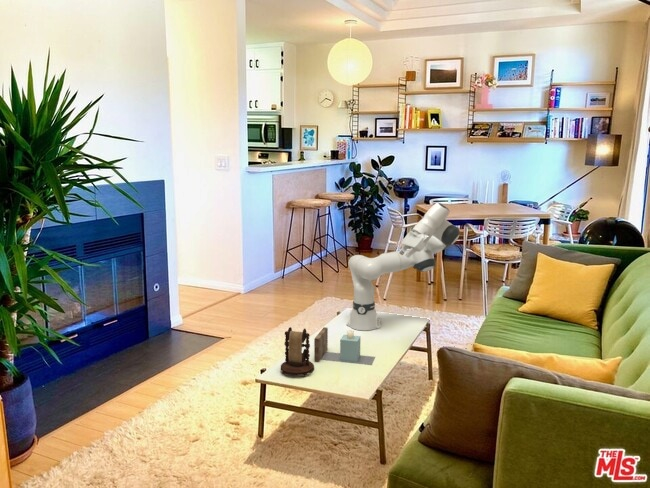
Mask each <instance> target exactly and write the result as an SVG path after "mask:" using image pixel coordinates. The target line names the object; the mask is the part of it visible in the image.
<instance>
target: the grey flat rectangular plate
mask: <svg viewBox="0 0 650 488" xmlns="http://www.w3.org/2000/svg"><path fill="white" fill-rule="evenodd" d="M375 360H376V356H372V355H371V356H369V355H362V354H360V358H359V360H358V362H350V361H340V352H332V351H326V353H325V354H324V355H323V357H322V358H321V360H320V361H326V362H327V361H328V362H329V361H330V362H337V363H338V362H340V363H346V364H347V363H348V364H356V365H357V364H359V365H365V366H366V365H367V366H373V363H374V361H375Z"/></svg>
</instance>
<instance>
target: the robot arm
mask: <svg viewBox="0 0 650 488" xmlns="http://www.w3.org/2000/svg"><path fill="white" fill-rule="evenodd" d="M449 214H450V209H449V208H448V207H446V205H444V204H442V203H441V202H436V203H434V204H433V205H432V206H431V207H430V208H429V209H427V212H425V214H424V215H423V216H422V217H421V219H419V221H418V222H417V223H416V224H415V225H413V226H411V228H410V229H409V232H408V233H407V234H406V235H405V237H403V239H402V240H401V245H402V247H401V249H400V250H396V251H395V250H394V251H390V252H383V253H381V254H379V255H377V256H376V257H367V256H366V255H365V256H364V255H362V254H356V255H352V256H351V257H350V258H349V259H348V263H347V264H348V269H349V271H350V274H351V279H352V284H353V301H352V309H351V310H350V312H349V320H348V322H346V326H347V327H350V328H351V329H353V330H357V331H370V330H372V331H373V330H375V329H381V319H380V318H379V317H378V313H377V310H376V303H375V287H374V284H373V282H372V281H376V280H377V279H379V278H380V277H381V276H384V275H386V274H391V273H395V272H396V273H397V272H401V271H404V270H407V269H409V268H411V267H412V268H413V269H414V270H416V271H419V272H423V273H424V272H429V271H432V270H433V269H434V268H435V267H436V259H435V257H434V254H438V253H441V252H442V251H444V250H448V249H449V248H450V247H451V246H452V245H454V244H455V243H456V242H457V241H458V239H459V237H460V235H461V233H460V228H459V227H458V226H456V225H454V224H452V223H451V222H449V220H447V217H448V216H449ZM408 249H409V250H408ZM433 253H434V254H433Z"/></svg>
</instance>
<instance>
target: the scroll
mask: <svg viewBox="0 0 650 488" xmlns="http://www.w3.org/2000/svg"><path fill="white" fill-rule="evenodd" d="M310 336H311V335H310V333H308V332H307V329H306V328H303V330H302V331H296V330H292V327H288V330H287V331H286V330H285V331H284V337H285V338H284V346H285V351H284V354H285V355H284V356H285V358H284V359H285V360H284V362H282V363H281V364H280V371H281V373H282V374H284V375H285V374H286V375H289V376H290V375H291V376H303V377H304V378H305V377H306V376H307V375H308V374H310V373H312V372H313V371H314V370H315V365H314V363H313V362H312V361H310V356H311V355H310V347H311V344H310V340H309V339H310ZM303 348H304V349H303Z"/></svg>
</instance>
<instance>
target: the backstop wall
mask: <svg viewBox="0 0 650 488" xmlns="http://www.w3.org/2000/svg"><path fill="white" fill-rule="evenodd" d="M328 329H329V328H328V327H323V328H321V330H320V331H319V332H318V334H317V335H316V336H315V338H314V342H313V344H314V345H313V346H314V347H313V348H314V352H313V353H314V359H313V360H314V363H319V362H320V361H322V360H321V358H322V357H323V355H324V354H325V353H326V352H328V346H329V345H328V340H329V339H328V337H329V336H328V333H329V331H328Z"/></svg>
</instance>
